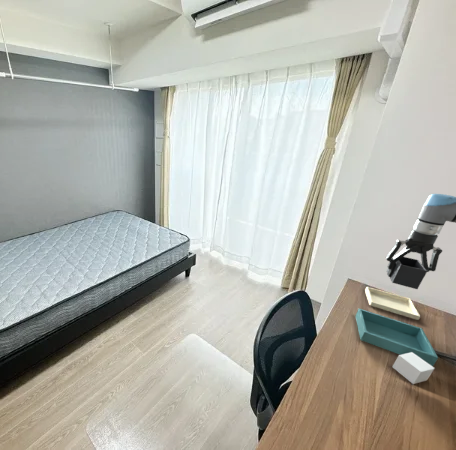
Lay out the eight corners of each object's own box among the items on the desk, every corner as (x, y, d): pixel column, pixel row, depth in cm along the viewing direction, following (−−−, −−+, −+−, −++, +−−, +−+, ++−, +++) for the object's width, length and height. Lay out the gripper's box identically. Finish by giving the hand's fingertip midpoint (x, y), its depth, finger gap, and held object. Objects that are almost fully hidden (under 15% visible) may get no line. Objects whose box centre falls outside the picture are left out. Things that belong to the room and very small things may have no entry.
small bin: (409, 277, 110) (418, 259, 107) (417, 289, 101) (427, 271, 98) (386, 271, 114) (394, 254, 111) (392, 282, 105) (401, 264, 102)
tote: (417, 337, 95) (422, 328, 93) (432, 367, 82) (438, 357, 81) (354, 316, 104) (358, 308, 102) (359, 341, 92) (364, 331, 90)
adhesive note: (426, 381, 78) (435, 368, 75) (412, 385, 76) (421, 372, 74) (404, 364, 83) (412, 351, 81) (391, 368, 82) (398, 355, 79)
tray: (408, 302, 114) (410, 298, 114) (417, 321, 103) (420, 316, 102) (364, 290, 122) (366, 286, 121) (369, 306, 111) (371, 301, 110)
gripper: (393, 228, 101) (373, 274, 109) (467, 241, 91) (438, 291, 99) (389, 223, 107) (370, 267, 115) (457, 235, 97) (431, 282, 105)
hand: (401, 278), depth 107 cm, fingers closed on small bin, 8 cm apart
